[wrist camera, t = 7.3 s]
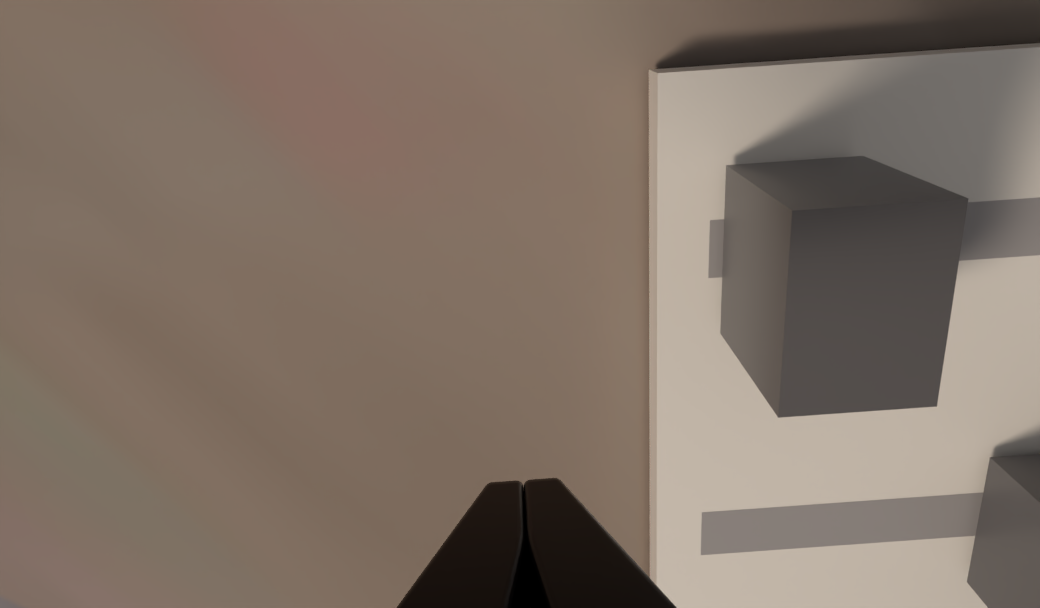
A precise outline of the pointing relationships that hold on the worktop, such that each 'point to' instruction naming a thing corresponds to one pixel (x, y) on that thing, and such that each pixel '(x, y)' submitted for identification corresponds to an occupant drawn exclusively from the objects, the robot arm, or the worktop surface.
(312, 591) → the worktop surface
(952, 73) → the switch plate
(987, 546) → the slider on
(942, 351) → the slider
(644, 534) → the worktop surface
